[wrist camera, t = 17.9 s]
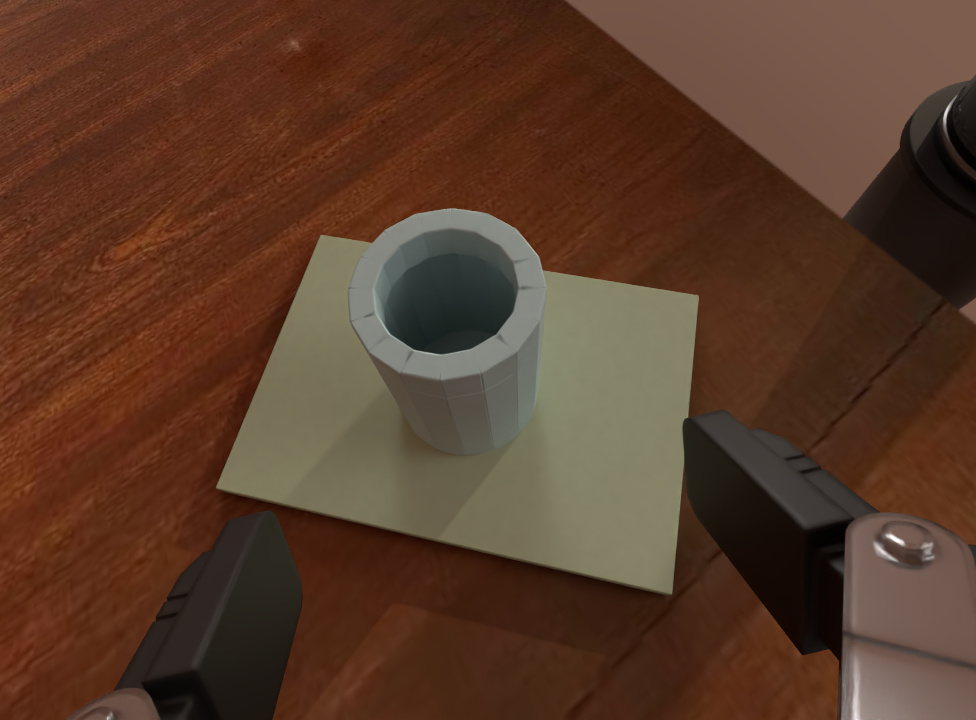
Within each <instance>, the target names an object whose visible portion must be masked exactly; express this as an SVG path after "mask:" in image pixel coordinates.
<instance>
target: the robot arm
mask: <svg viewBox="0 0 976 720" xmlns="http://www.w3.org/2000/svg"><path fill="white" fill-rule="evenodd" d="M934 143H935V147H936V150H937V153H938V155H939V157H940V159H941V160H942V162H943V164H944V165H945V166H946V168H947V169H948V170H949V171H950V172H951V174H952V175H953V176H954V177H955V178H957V179H958V180H959V181H960V182H961V183H962V184H964V185H965V186H966V187H968V188H969V189H970V190H972V191H973V192H975V193H976V75H975V76H974V77H973V79H972V80H971V81H970V82H969V83H968V85H967V86H965V87H964V88H963V89H962V90H961V92H960V93H959V94H958V95H956V96H955V97H954V98H953V100H952V101H951V102H950V103H949V104H948V106H947V107H946V108H945V109H944V110H943V112H942V113H941V114H940V115H939V117H938V119H937V121H936V123H935V127H934ZM682 434H683V448H684V461H685V475H686V487H687V493H688V497H689V500H690V503H691V506H692V508H693V511H694V513H695V514H696V516H697V518H698V519H699V521H700V522H701V523H702V525H703V526H704V527H705V528H706V530H707V531H708V532H709V534H710V535H711V536H712V538H713V539H714V540H715V542H716V543H717V544H718V545H719V547H720V548H721V549H722V551H723V552H724V553H725V555H726V556H727V557H728V559H729V560H730V561H731V563H732V564H733V565H734V566H735V568H736V569H737V570H738V572H739V573H740V574H741V576H742V577H743V578H744V580H745V581H746V582H747V584H748V585H749V586H750V587H751V589H752V590H753V591H754V593H755V594H756V595H757V597H758V598H759V599H760V601H761V602H762V603H763V604H764V606H765V607H766V608H767V610H768V611H769V612H770V614H771V615H772V616H773V618H774V619H775V620H776V622H777V623H778V624H779V625H780V627H781V628H782V629H783V631H784V632H785V633H786V635H787V636H788V637H789V639H790V640H791V641H792V642H793V644H794V645H795V646H796V648H797V649H798V650H799V652H800V653H801V654H802V655H806V654H810V653H814V652H818V651H822V650H826V649H830V650H831V651H832V653H833V654H834V655H835V656H836V657H837V659H838V660H839V682H838V712H837V720H976V545H967V544H966V543H965V542H964V541H963V540H962V539H961V538H960V537H959V536H957V535H956V534H955V533H953V532H952V531H950V530H948V529H947V528H945V527H943V526H941V525H939V524H937V523H935V522H932V521H929V520H927V519H924V518H920V517H916V516H912V515H907V514H901V513H880V512H879V511H878V510H876V509H875V508H874V507H872V506H871V505H870V504H869V503H867V502H866V501H865V500H863V499H862V498H861V497H860V496H858V495H857V494H856V493H854V492H853V491H852V490H851V489H849V488H848V487H847V486H845V485H844V484H843V483H842V482H840V481H839V480H838V479H836V478H835V477H834V476H833V475H831V474H830V473H829V472H827V471H826V470H822V469H821V466H820V465H818V464H817V463H816V462H814V461H813V460H812V459H811V458H809V457H805V454H804V453H803V452H802V451H800V450H799V449H798V448H796V447H795V446H794V445H793V444H791V443H790V442H789V441H787V440H786V439H785V438H782V437H779V436H777V435H774V434H772V433H769V432H766V431H764V430H761V429H759V428H758V429H753V430H749V429H748V428H746V427H745V426H744V425H743V424H742V423H740V422H739V421H738V420H737V419H736V418H734V417H733V416H732V415H731V414H730V413H728V412H727V411H725V410H720V411H715V412H711V413H706V414H702V415H698V416H693V417H689V418H685V419H684V421H683V425H682ZM301 608H302V585H301V579H300V575H299V573H298V570H297V567H296V565H295V562H294V559H293V557H292V554H291V552H290V549H289V547H288V544H287V541H286V539H285V536H284V534H283V531H282V528H281V526H280V523H279V521H278V518H277V517H276V515H275V514H274V513H273V512H272V511H270V510H268V511H264V512H259V513H255V514H250V515H246V516H241V517H237V518H232V519H229V520H228V521H227V522H226V524H225V525H224V527H223V529H222V531H221V533H220V535H219V536H218V538H217V540H216V542H215V544H214V546H213V548H212V550H211V551H207V552H203V553H202V554H201V555H200V556H199V557H198V558H197V559H196V560H195V561H194V562H193V563H192V564H191V565H190V566H189V567H188V568H187V569H186V570H185V571H184V572H182V573H181V574H180V576H179V578H178V580H177V581H176V583H175V585H174V586H173V588H172V590H171V592H170V593H169V595H168V597H167V602H164V604H163V606H162V607H161V609H160V611H159V613H158V614H157V616H156V622H153V623H152V625H151V626H150V628H149V630H148V632H147V633H146V635H145V637H144V639H143V640H142V642H141V644H140V646H139V647H138V649H137V651H136V653H135V654H134V656H133V658H132V660H131V661H130V663H129V665H128V666H127V668H126V670H125V672H124V673H123V675H122V677H121V679H120V680H119V682H118V684H117V686H116V687H115V689H114V691H112V692H110V693H107V694H104V695H102V696H100V697H98V698H96V699H94V700H92V701H91V702H89V703H87V704H86V705H84V706H83V707H81V708H80V709H78V710H77V711H75V712H74V713H73V714H72V715H70V716H69V717H68V718H67V719H65V720H272V718H273V714H274V710H275V707H276V703H277V699H278V695H279V692H280V688H281V684H282V680H283V676H284V673H285V669H286V665H287V661H288V658H289V654H290V650H291V646H292V642H293V639H294V635H295V631H296V627H297V623H298V620H299V616H300V612H301Z"/></svg>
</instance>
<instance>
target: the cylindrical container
mask: <svg viewBox="0 0 976 720" xmlns="http://www.w3.org/2000/svg"><path fill="white" fill-rule="evenodd" d="M546 289H547V287H546V283H545V279H544V275H543V271H542V267H541V263H540V259H539V256H538V255H537V254H536V252H535V251H534V250H533V249H532V248H531V246H530V245H529V244H528V243H527V241H526V240H525V239H524V238H523V237H522V235H521V234H520V233H519V232H518V231H517V229H515V228H514V227H512V226H510V225H508V224H506V223H504V222H502V221H501V220H499V219H497V218H495V217H493V216H491V215H489V214H485V213H480V212H474V211H467V210H460V209H454V208H453V209H443V210H437V211H432V212H426V213H420V214H416V215H413V216H411V217H409V218H407V219H405V220H403V221H401V222H399V223H397V224H396V225H394V226H392V227H390V228H388V229H386V230H384V233H382V234H381V235H380V236H379V237H378V238H377V239H376V240H375V241H374V242H373V243H372V244H371V245H370V247H369V248H368V249H367V250H366V251H365V252H364V253H363V254H362V255H361V258H359V260H358V263H357V265H356V268H355V270H354V273H353V276H352V278H351V281H350V284H349V286H348V291H347V292H348V305H349V318H350V323H351V326H352V328H353V329H354V331H355V333H356V335H357V336H358V338H359V340H360V341H361V343H362V345H363V346H364V348H365V350H366V351H367V353H368V355H369V357H370V358H371V360H372V362H373V363H374V365H375V367H376V369H377V370H378V372H379V374H380V375H381V377H382V379H383V380H384V382H385V384H386V386H387V387H388V389H389V391H390V392H391V394H392V396H393V397H394V399H395V401H396V403H397V404H398V406H399V408H400V409H401V411H402V413H403V414H404V416H405V418H406V419H407V421H408V423H409V424H410V426H411V428H412V429H413V431H414V432H415V433H416V434H417V435H418V436H419V437H420V438H421V439H422V440H424V441H425V442H426V443H428V444H429V445H431V446H433V447H434V448H436V449H439V450H441V451H443V452H447V453H450V454H456V455H479V454H483V453H488V452H491V451H493V450H496V449H498V448H500V447H502V446H504V445H506V444H507V443H508V442H510V441H511V440H513V439H514V438H515V437H516V436H517V435H518V434H519V433H520V432H521V431H522V430H523V428H524V427H525V426H526V425H527V423H528V421H529V420H530V418H531V416H532V413H533V411H534V408H535V405H536V400H537V393H538V389H539V380H540V368H541V355H542V343H543V330H544V317H545V304H546V292H547V290H546Z"/></svg>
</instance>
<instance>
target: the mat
mask: <svg viewBox="0 0 976 720" xmlns="http://www.w3.org/2000/svg"><path fill="white" fill-rule="evenodd" d="M371 244H372V243H368V242H362V241H355V240H349V239H343V238H337V237H331V236H324V235H321V236H320V238H319V240H318V243H317V245H316V248H315V250H314V253H313V255H312V257H311V260H310V262H309V265H308V267H307V269H306V272H305V274H304V277H303V279H302V281H301V284H300V286H299V289H298V291H297V293H296V296H295V298H294V301H293V303H292V306H291V308H290V310H289V313H288V315H287V318H286V320H285V322H284V325H283V327H282V330H281V332H280V334H279V337H278V339H277V342H276V344H275V346H274V349H273V351H272V354H271V356H270V359H269V361H268V363H267V366H266V368H265V371H264V373H263V375H262V378H261V380H260V383H259V385H258V387H257V390H256V392H255V395H254V397H253V399H252V402H251V404H250V407H249V409H248V412H247V414H246V416H245V419H244V421H243V424H242V426H241V428H240V431H239V433H238V436H237V438H236V440H235V443H234V445H233V448H232V450H231V452H230V455H229V457H228V460H227V462H226V465H225V467H224V469H223V472H222V474H221V477H220V479H219V481H218V484H217V486H216V489H218V490H220V491H223V492H226V493H230V494H235V495H239V496H243V497H248V498H252V499H256V500H260V501H265V502H269V503H273V504H277V505H282V506H286V507H290V508H295V509H299V510H303V511H307V512H312V513H316V514H320V515H325V516H329V517H333V518H337V519H342V520H346V521H350V522H354V523H359V524H363V525H367V526H372V527H376V528H380V529H384V530H389V531H393V532H397V533H402V534H406V535H410V536H414V537H419V538H423V539H427V540H431V541H436V542H440V543H444V544H449V545H453V546H457V547H461V548H466V549H470V550H474V551H478V552H483V553H487V554H491V555H496V556H500V557H504V558H508V559H513V560H517V561H521V562H526V563H530V564H534V565H538V566H543V567H547V568H551V569H555V570H560V571H564V572H568V573H573V574H577V575H581V576H585V577H590V578H594V579H598V580H603V581H607V582H611V583H615V584H620V585H624V586H628V587H632V588H637V589H641V590H645V591H650V592H654V593H658V594H662V595H672V590H673V579H674V567H675V556H676V545H677V534H678V523H679V511H680V500H681V489H682V478H683V467H684V448H683V434H682V425H683V421H684V419H685V418H688V411H689V400H690V388H691V377H692V366H693V355H694V344H695V333H696V321H697V310H698V299H699V296H697V295H691V294H685V293H679V292H672V291H666V290H660V289H654V288H648V287H641V286H635V285H629V284H623V283H616V282H610V281H604V280H598V279H592V278H585V277H579V276H573V275H567V274H561V273H554V272H548V271H543V275H544V279H545V283H546V287H547V289H546V290H547V292H546V304H545V317H544V330H543V343H542V355H541V368H540V380H539V389H538V393H537V400H536V405H535V408H534V411H533V413H532V416H531V418H530V420H529V421H528V423H527V425H526V426H525V427H524V428H523V430H522V431H521V432H520V433H519V434H518V435H517V436H516V437H515V438H514V439H513V440H511V441H510V442H508V443H507V444H506V445H504V446H502V447H500V448H498V449H496V450H493V451H491V452H488V453H483V454H479V455H456V454H450V453H447V452H443V451H441V450H439V449H436V448H434V447H433V446H431V445H429V444H428V443H426V442H425V441H424V440H422V439H421V438H420V437H419V436H418V435H417V434H416V433H415V432H414V431H413V429H412V428H411V426H410V424H409V423H408V421H407V419H406V418H405V416H404V414H403V413H402V411H401V409H400V408H399V406H398V404H397V403H396V401H395V399H394V397H393V396H392V394H391V392H390V391H389V389H388V387H387V386H386V384H385V382H384V380H383V379H382V377H381V375H380V374H379V372H378V370H377V369H376V367H375V365H374V363H373V362H372V360H371V358H370V357H369V355H368V353H367V351H366V350H365V348H364V346H363V345H362V343H361V341H360V340H359V338H358V336H357V335H356V333H355V331H354V329H353V328H352V326H351V323H350V318H349V305H348V292H347V291H348V286H349V284H350V281H351V278H352V276H353V273H354V270H355V268H356V265H357V263H358V260H359V258H361V255H362V254H363V253H364V252H365V251H366V250H367V249H368V248H369V247H370V245H371Z"/></svg>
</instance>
